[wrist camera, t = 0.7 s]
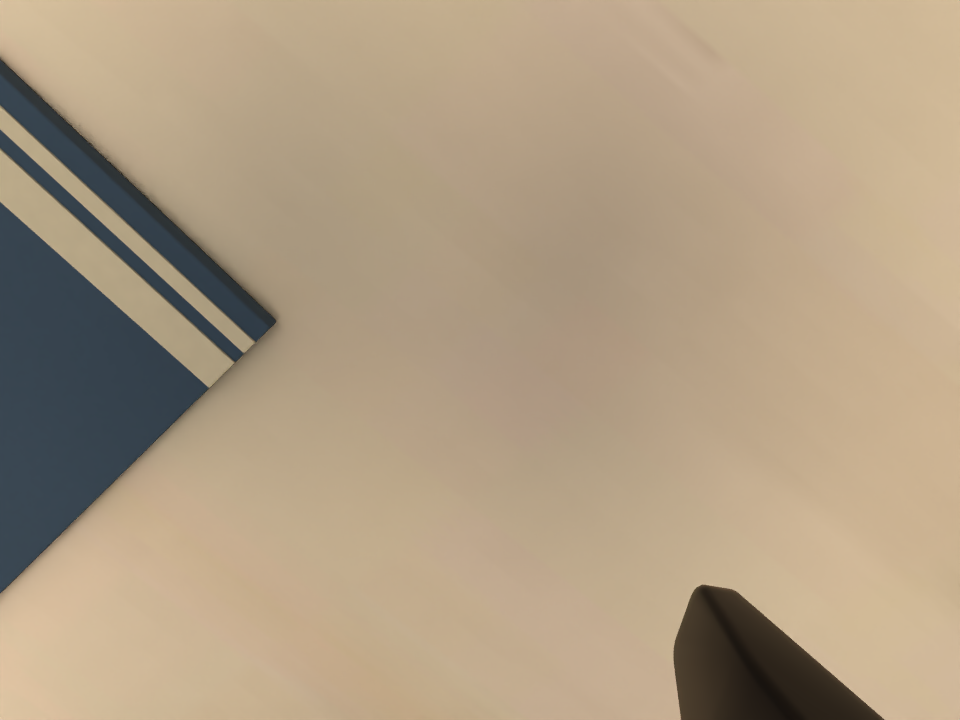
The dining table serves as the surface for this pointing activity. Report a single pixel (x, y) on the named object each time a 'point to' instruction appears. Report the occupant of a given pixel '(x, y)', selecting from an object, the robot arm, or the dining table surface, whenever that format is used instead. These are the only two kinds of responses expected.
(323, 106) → the dining table surface
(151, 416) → the towel
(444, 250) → the dining table surface
